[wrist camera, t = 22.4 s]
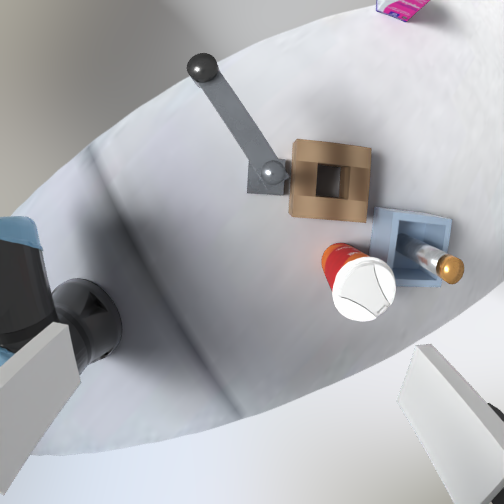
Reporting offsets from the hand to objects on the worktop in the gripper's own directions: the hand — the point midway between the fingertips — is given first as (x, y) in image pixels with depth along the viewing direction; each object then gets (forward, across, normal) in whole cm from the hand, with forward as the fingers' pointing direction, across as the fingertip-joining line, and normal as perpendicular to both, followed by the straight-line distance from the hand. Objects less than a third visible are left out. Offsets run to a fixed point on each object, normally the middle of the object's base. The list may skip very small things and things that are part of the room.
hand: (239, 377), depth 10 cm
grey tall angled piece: (+34, -1, +12) cm, 36 cm away
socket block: (+35, +11, +7) cm, 37 cm away
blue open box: (+35, +24, 0) cm, 42 cm away
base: (+35, +2, +7) cm, 36 cm away
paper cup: (+35, +14, -4) cm, 38 cm away
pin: (+34, +24, 0) cm, 41 cm away
